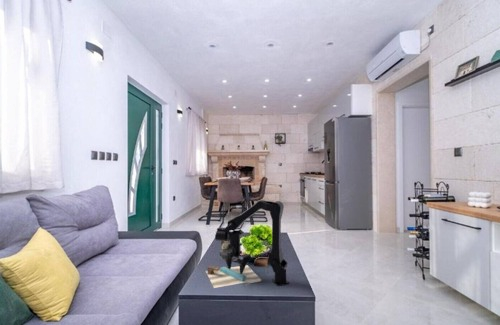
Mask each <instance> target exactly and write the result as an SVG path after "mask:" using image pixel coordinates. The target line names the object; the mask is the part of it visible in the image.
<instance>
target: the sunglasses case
mask: <svg viewBox="0 0 500 325" xmlns="http://www.w3.org/2000/svg"><path fill="white" fill-rule="evenodd" d="M255 258H256V257H255ZM253 266H254V267H256V268H257V267H260V268H262V267H263V268H265V267H266V268H268V267H269V261H268V257H258V258H256V259H254V263H253Z"/></svg>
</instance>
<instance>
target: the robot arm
mask: <svg viewBox="0 0 500 325" xmlns="http://www.w3.org/2000/svg"><path fill="white" fill-rule="evenodd" d="M260 210H263V211H267V212H269V214H270V218H271V220H272V222H271V223H272V224H271V226H272V227H271V249H270V250H269V251H268V253H267V255H268V265H269V266H270V267H271V268H272V269H271V270H272V271H273V273H274V278H273V279H271V281H272V283H274V284H275V285H276V286H283V285H288V284H290V282H289V281H288V280H287V269H286V268H287V266H288V264H289V263H288V262H287V261H286V259H285V258H284V253H283V250H282V246H281V245H282V244H281V243H282V242H281V240H282V238H281V236H282V235H281V234H282V233H281V231H282V230H281V228H282V225H281V223H282V217H283V214H284V213H283V212H284V203H283V202H282V201H281V200H275V201H271V200H270V201H269V200H264V199H260V200H257V201H256V202H255V203H254V204H253V205H252V206H250V207H248V209H246V210H245V211H244V212H242V213H241V214H239V215H238V216H235V217H233V218H231V219H229V220H228V221H227V226H226V227H225V228H223V227H217V228H216V232H215V235H214V237H215V238H214V239H215V241H218V242H221V241H228V240H229V244H228V245H227V248H226V249H223V250H221V249H220V251H219V256H221V257H222V259H221V260H223V259H224V261H225V263H226V266H227V268H229V269H231V267H232V263H233V262H232V257H236V258H237V264H238V266H240V274H242V273H243V271H244V268H245V266H246V265H247V264H248V263H249V262H250V261H252V256H251V255H250V254H248V253H242V250H241V246H242V243H241V236H242V235H243V234H244V231H243V230H242V229H241V226H242V225H244V223H245V222H246V220H248V219H249V218H251V216H253V215H255V214H256V213H257V212H258V211H260ZM237 229H238V230H237Z"/></svg>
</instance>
